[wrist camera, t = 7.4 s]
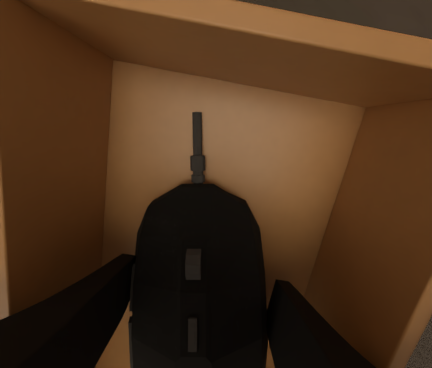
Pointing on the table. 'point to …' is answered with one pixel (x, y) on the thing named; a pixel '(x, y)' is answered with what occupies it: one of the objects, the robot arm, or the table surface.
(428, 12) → the table surface
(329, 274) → the carton
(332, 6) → the table surface
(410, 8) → the table surface
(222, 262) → the gaming mouse
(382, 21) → the table surface
